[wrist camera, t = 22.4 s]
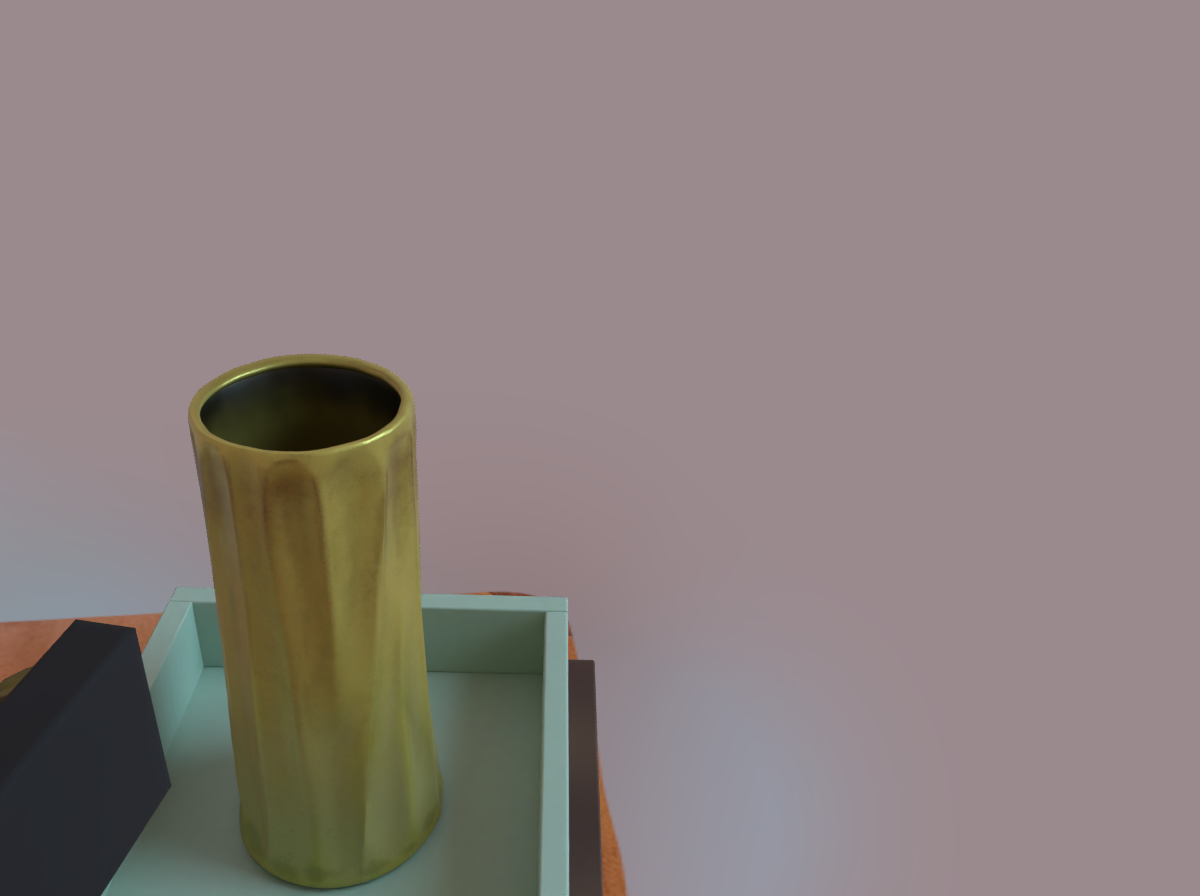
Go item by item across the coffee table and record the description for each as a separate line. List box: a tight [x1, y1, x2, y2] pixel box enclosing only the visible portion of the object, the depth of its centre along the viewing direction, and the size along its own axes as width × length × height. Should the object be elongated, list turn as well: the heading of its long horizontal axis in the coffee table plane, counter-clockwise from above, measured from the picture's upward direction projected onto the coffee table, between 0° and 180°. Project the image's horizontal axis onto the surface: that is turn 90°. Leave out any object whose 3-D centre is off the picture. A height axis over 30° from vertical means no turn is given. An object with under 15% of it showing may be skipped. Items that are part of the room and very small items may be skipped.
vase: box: [188, 354, 443, 889], centre depth 29 cm, size 6×6×14 cm
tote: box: [101, 587, 569, 896], centre depth 32 cm, size 14×14×4 cm
